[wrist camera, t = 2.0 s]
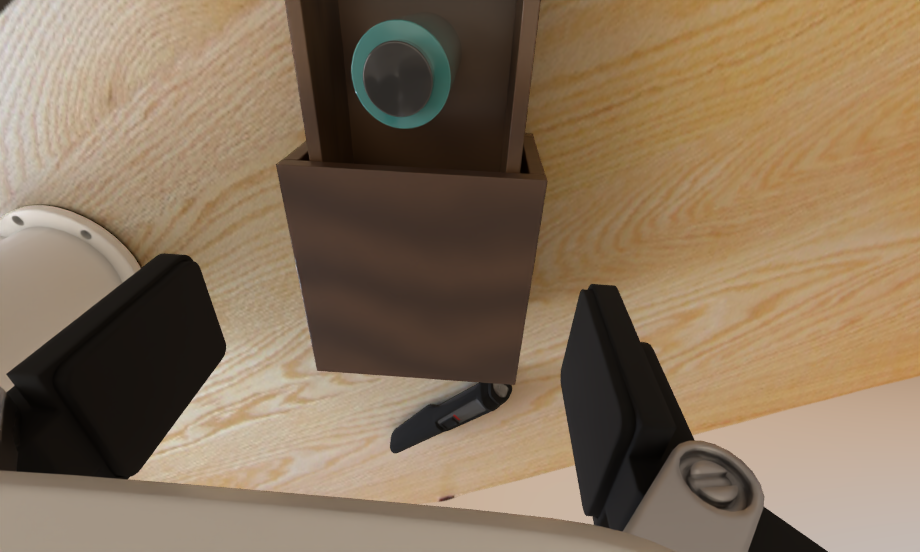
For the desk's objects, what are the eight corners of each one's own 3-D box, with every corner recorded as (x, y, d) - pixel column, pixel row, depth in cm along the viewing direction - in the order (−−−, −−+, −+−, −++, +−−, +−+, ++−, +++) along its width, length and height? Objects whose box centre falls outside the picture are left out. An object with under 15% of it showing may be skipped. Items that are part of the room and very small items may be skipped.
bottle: (387, 82, 28) (342, 121, 19) (396, 3, 25) (349, 7, 17) (454, 98, 28) (438, 143, 20) (469, 22, 25) (459, 35, 17)
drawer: (295, -187, 22) (219, -258, 16) (563, -177, 22) (594, -246, 15) (338, 172, 32) (302, 214, 26) (519, 183, 32) (527, 228, 26)
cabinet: (328, 122, 31) (275, 164, 23) (532, 133, 31) (547, 180, 23) (350, 297, 40) (316, 370, 32) (510, 308, 39) (515, 385, 32)
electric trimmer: (385, 420, 50) (379, 445, 47) (492, 364, 44) (492, 389, 41) (407, 437, 51) (403, 462, 49) (514, 385, 45) (515, 410, 42)
